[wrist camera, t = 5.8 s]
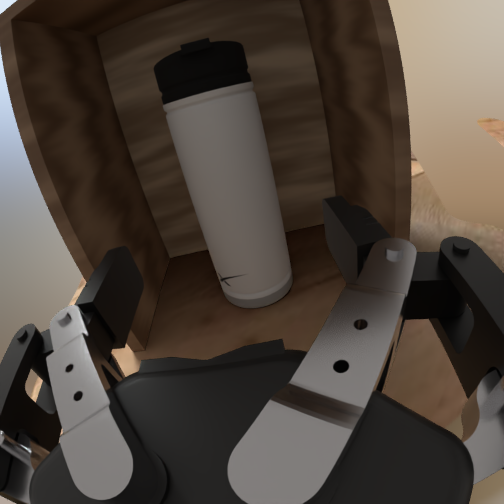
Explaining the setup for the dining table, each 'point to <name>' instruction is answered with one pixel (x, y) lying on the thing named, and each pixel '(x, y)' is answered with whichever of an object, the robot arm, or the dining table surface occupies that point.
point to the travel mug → (227, 168)
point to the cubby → (158, 133)
